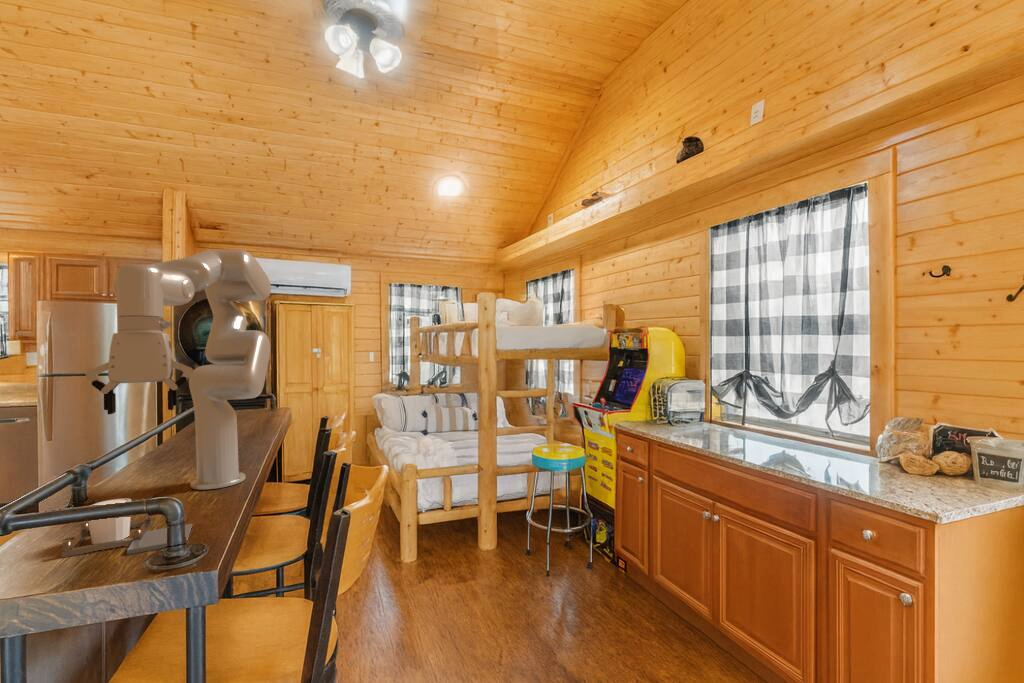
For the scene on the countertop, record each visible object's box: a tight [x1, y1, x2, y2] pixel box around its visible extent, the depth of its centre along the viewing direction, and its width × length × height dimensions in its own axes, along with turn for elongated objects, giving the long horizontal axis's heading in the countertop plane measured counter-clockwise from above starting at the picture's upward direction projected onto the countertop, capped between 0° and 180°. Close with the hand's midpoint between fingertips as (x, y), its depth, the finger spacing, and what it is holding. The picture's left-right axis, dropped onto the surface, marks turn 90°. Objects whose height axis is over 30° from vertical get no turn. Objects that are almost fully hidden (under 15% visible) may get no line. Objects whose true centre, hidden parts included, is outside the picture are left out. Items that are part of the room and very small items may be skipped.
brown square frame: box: [61, 515, 153, 558], centre depth 95 cm, size 11×11×2 cm
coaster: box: [126, 523, 194, 556], centre depth 94 cm, size 9×9×1 cm
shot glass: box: [87, 497, 133, 545], centre depth 95 cm, size 7×7×7 cm
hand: (142, 411), depth 98 cm, fingers open, 9 cm apart
